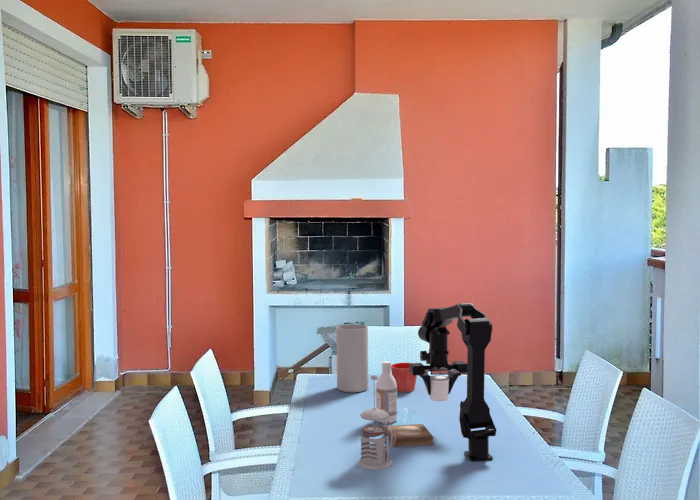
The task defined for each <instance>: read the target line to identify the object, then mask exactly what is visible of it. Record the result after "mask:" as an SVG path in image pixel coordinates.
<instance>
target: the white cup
mask: <svg viewBox="0 0 700 500" xmlns="http://www.w3.org/2000/svg"><path fill="white" fill-rule="evenodd" d="M429 376H430V389H431V392H430V395H429V399H430V400H431V401H433V402H446V401H447V400H448V398H449V394H448V390H449V379H450V378H449V377H448V375H447V376H446V375H440V374H439V375H429Z"/></svg>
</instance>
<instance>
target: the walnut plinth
mask: <svg viewBox="0 0 700 500" xmlns="http://www.w3.org/2000/svg"><path fill="white" fill-rule="evenodd" d="M386 426H387V425H386ZM388 426H389V428H390V429H389V428H388ZM388 426H387V427H386V428H387V431H386V432H387V433H388V440H389V442H391V432H392V444H391V445H393V443H394V441H395V432H396V441H395V443H394V445H393V446H392V447H393V448H399V447H401V448H402V447H415V446H416V447H417V446H429V445H430V446H431V445H432V446H433V445H434V435H432V433H431V432H430V431H429V430H428V428H427V426H425V425H424V423H415V424H413V423H411V424H400V425H396V424H395V425H393V427H394V429H395V432H394V429H393V427H392V425H388ZM390 430H391V432H390Z"/></svg>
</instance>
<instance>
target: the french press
mask: <svg viewBox="0 0 700 500" xmlns="http://www.w3.org/2000/svg"><path fill="white" fill-rule="evenodd" d="M370 380H372V381H375V380H377V381H378V375H376V374H372V375H371V376H370ZM375 390H376V388H375V384H373V407H372V408H368V409H365V410H363V411H362V412H361V413H360V414H359V417H360V418H361V419H362V420H366V421H370V422H371V421H373V424H368V425H364V426H363V427H362V428H361V431H362V432H361V434H360V456H361V457H360V458H359V459H358V461H357V465H358V466H359V467H360V468H361V467H362V468H363V469H368V470H383V469H386V468H389V467H390V466H392V465H393V460H391V459H390V457H389V453H390V451H389V449H390V448H391V447H394V446H393V445H394V443H395V441H396V432H395V429H394V427H393V426H394V425H393V423H390V422H387V423H382V424H383V425H381V424H376V423H375V422H378V421H377V420H383V419H386V418H388V416H389V414H388V413H387V412H386V411H384V410H381V409H378V408H376V404H375V403H376V399H375V397H376V396H375V395H376V394H375V393H376V391H375ZM389 424H390V425H389ZM387 426H388V428H389V426H392V427H393V429H394V432H395V441H394V443H393V444H392V432H391V430H390V432H391V441H390V439H389V438H388V433H387V432H386V431H387V428H386V427H387ZM389 429H390V428H389ZM383 435H385V436H383ZM380 436H381V437H380ZM377 437H379V438H377ZM389 442H390V444H389Z"/></svg>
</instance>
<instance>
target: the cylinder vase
mask: <svg viewBox="0 0 700 500" xmlns="http://www.w3.org/2000/svg"><path fill="white" fill-rule="evenodd" d="M335 329H336V330H335V331H336V338H335V339H336V389H337V390H338V391H340V392H343V393H361V392H364V391H365V392H366V391H367V390H368V388H369V326H368V325H366V324H360V323H359V324H358V323H348V324H339V325H337V326H336V327H335Z"/></svg>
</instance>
